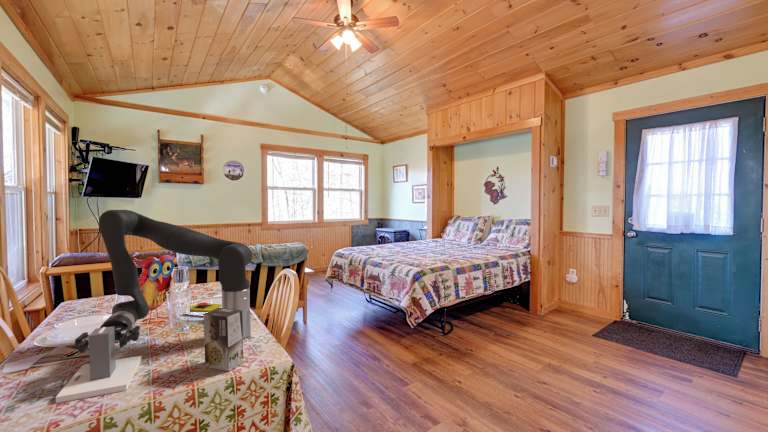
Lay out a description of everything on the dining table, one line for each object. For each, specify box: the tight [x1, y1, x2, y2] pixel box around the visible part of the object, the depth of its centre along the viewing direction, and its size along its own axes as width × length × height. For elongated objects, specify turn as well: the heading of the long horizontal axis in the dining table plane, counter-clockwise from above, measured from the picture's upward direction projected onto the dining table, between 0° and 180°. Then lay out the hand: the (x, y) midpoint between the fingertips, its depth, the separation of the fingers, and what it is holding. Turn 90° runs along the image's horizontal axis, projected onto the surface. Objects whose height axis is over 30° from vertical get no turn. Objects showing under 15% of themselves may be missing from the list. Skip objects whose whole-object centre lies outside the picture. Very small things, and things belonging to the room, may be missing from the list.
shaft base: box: [55, 355, 142, 404], centre depth 95 cm, size 18×14×2 cm
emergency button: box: [189, 301, 222, 312], centre depth 150 cm, size 9×4×15 cm
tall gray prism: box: [88, 326, 116, 381], centre depth 95 cm, size 6×4×12 cm
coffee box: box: [203, 308, 244, 372], centre depth 103 cm, size 9×6×16 cm
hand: (101, 346), depth 94 cm, fingers open, 8 cm apart
